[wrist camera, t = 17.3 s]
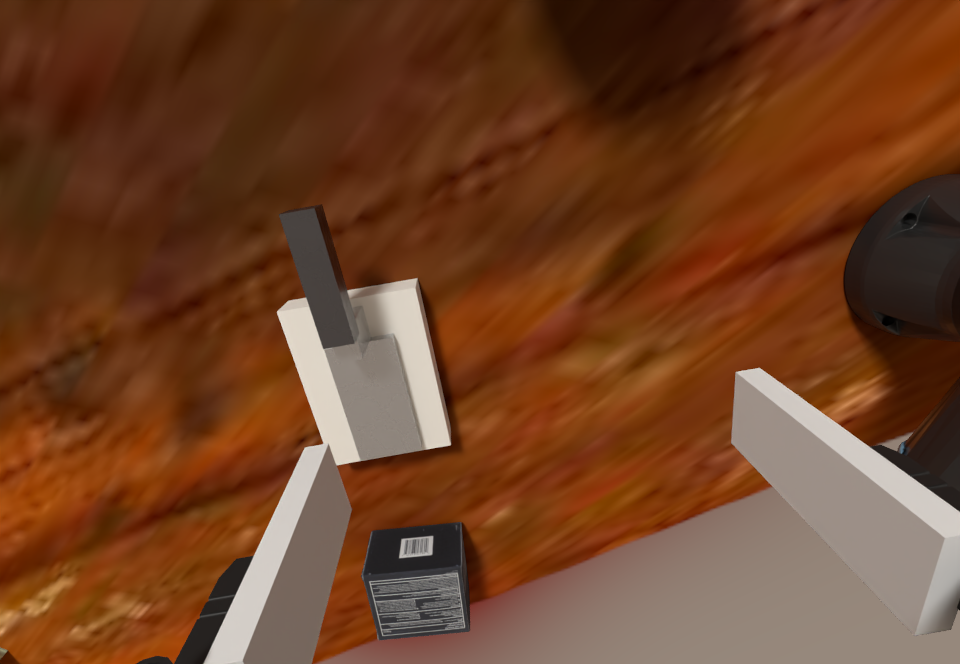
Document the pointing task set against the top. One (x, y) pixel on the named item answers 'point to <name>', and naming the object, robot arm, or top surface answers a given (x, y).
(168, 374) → the top surface
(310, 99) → the top surface
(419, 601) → the small box
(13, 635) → the top surface
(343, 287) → the dark gray bar
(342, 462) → the board
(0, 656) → the hardcover book
